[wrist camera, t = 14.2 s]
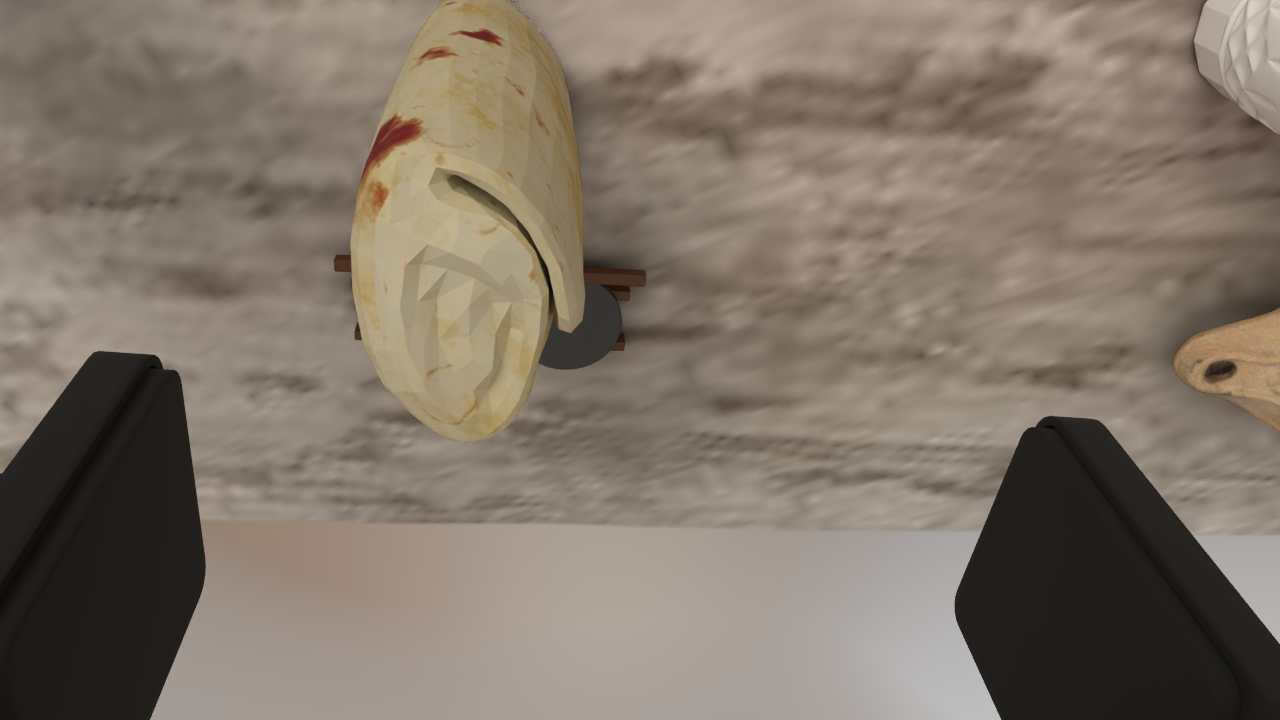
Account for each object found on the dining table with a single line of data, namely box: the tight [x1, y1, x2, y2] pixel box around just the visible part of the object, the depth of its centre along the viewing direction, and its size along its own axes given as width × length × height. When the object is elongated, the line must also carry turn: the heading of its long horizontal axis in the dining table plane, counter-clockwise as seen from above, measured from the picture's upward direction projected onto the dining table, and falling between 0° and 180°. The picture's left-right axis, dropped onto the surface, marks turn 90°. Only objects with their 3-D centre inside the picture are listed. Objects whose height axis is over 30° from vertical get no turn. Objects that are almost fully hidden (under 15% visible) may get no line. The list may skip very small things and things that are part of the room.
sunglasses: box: [334, 255, 646, 369], centre depth 46 cm, size 14×5×1 cm, turn 84°
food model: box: [350, 0, 585, 443], centre depth 33 cm, size 10×7×20 cm
